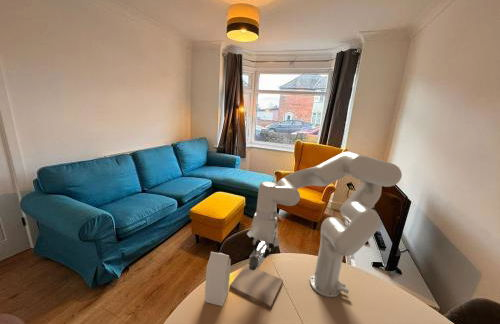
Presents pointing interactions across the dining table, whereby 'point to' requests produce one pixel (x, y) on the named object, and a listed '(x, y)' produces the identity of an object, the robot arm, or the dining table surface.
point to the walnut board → (257, 286)
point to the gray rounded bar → (257, 256)
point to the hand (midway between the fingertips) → (260, 253)
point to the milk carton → (217, 278)
